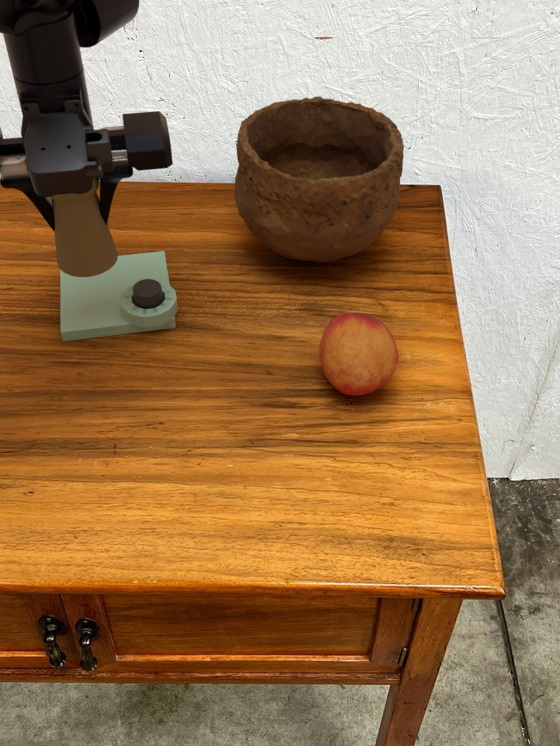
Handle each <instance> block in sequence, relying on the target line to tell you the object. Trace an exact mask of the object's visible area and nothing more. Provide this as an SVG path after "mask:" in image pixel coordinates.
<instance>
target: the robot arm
mask: <svg viewBox="0 0 560 746" xmlns="http://www.w3.org/2000/svg"><path fill="white" fill-rule="evenodd" d="M139 9H140V0H0V34H2V35H3V39H4V43H5V49H6V52H7V56H8V60H9V61H8V62H9V65H10V69H11V73H12V77H13V81H14V82H13V83H14V86H15V90H16V94H17V99H18V102H19V107H20V111H21V115H22V117H21V118H22V120H21V127H20V136H21V137H8V138H7V137H6V138H4V135H3V131H2V128H1V127H0V186H1V187H2V188H4V189H6V190H7V189H8V190H9V189H13V190H16V191H18V192H21V193H22V194H24V195H25V197H27V198H28V200H30V202H31V203H32V204H33V205H34V207H35V208H36V210H37V211H38V212H39V214H40V215H41V217H42V218H43V220H44V221H45V222H46V223H47V225H48V226H49V227H50V229H51V230H52V232H54V231H55V219H54V215H53V209H52V198H51V197H52V196H54V195H60V194H71V193H75V194H84V193H87V192H89V191H90V190H91V189H92V187H93V178H99V186H98V189H99V201H100V214H101V216H102V218H103V220H104V222H105V224H106V226H107V224H108V222H109V218H110V217H109V216H110V213H111V208H112V203H113V200H114V195H115V193H116V189H117V187H118V185H119V183H120V182H121V181H122V180H124V179H129V178H132V177H133V176H134V169H135V170H136V171H138V172H139V171H151V170H162V169H168V168H170V167H171V166H173V165H174V164H173V154H172V153H173V152H172V143H171V137H170V136H171V135H170V132H169V125H168V120H167V117H166V116H165V115H164V114H163V113H162V112H161V111H160V110H156V111H155V110H154V111H143V112H129V113H122V114H121V115H122V124H123V125H115V126H114V125H113V126H103V127H100V128H99V129H95V127H94V121H93V116H92V109H91V104H90V97H89V93H88V87H87V81H86V75H85V69H84V68H85V67H84V64H83V58H82V52H81V48H83V49H84V48H87V49H88V48H92V47H95V46H97V45H98V44H99V43H101V42H102V41H104V40H106V38H108V37H110V36H111V35H112V34H115V32H117V31H119V30H120V29H121V28H123V27H125V26H127V24H129V23H130V22H131V21H133V20H134V19H135V18H136V16H137V14H138V11H139Z"/></svg>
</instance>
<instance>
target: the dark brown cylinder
mask: <svg viewBox="0 0 560 746" xmlns="http://www.w3.org/2000/svg"><path fill="white" fill-rule="evenodd" d="M133 295H134V301H135V304H136V305H137V306H138V307H139V308H142V309H152V308H156V307H157V306H159V305H160V304H161V303H162V301H163V296H162V288H161V284H160V283H159V282H158V281H156V280H153V279H143V280H140V281H138V282H137V283H135V285H134V286H133Z"/></svg>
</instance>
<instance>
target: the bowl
mask: <svg viewBox="0 0 560 746" xmlns="http://www.w3.org/2000/svg"><path fill="white" fill-rule="evenodd" d="M404 149H405V144H404V140H403V136H402V132H400V130H399V128H398V126H397V124H396V123H395V122H394V121H393V120H391V118H390V117H389V116H387V115H385V114H384V113H383V112H381V111H377V110H376V109H375V108H373V107H367V106H365V105H363V104H362V103H359V102H358V103H355V102H353V101H349V102H345V101H340V100H335V99H334V98H333V99H332V98H323V97H322V96H320V95H319V96H314V97H311V98H310V97H309V98H308V97H305V98H304V97H303V98H302V99H298V98H297V99H295V98H293V99H291V100H290V99H286V100H284V101H283V100H282V101H281V100H280V101H274V102H272V103H270V104H269V105H267V106H264V107H262V108H260V109H256V110H255V111H254V112H252V113H251V114H249V115H248V116H247V117H246V118H244V120H241V123H240V127H239V129H238V133H237V141H236V158H237V163H238V167H237V169H236V174H235V177H234V194H233V195H234V200H235V204H236V209H237V213H238V215H239V216H240V217H241V219H242V220H243V221H244V223H245V224H246V226H247V227H248V229H249V231H250V232H251V233H252V234H253V235H254V236H255V238H256V239H258V241H260V242H262V243H263V244H264V245H265V246H267V248H268V249H270V250H271V251H273V252H275V253H276V254H278V255H280V256H282V257H284V258H286V259H290V260H299V261H306V262H307V261H308V262H316V263H326V262H332V261H338V260H342V259H344V258H346V257H350V256H353V255H356V254H357V253H360V252H362V251H363V250H365V249H366V248H368V247H369V246H370V245H371V244H373V243H374V241H376V239H378V238H379V237H380V235H381V234H382V233H383V232H384V230H385V229H386V228H387V227H388V226H389V225H390V223H391V221H392V220H393V218H394V216H395V213H396V211H397V208H398V205H399V200H400V197H401V178H402V177H403V176H402V175H403V169H404V168H403V167H404Z"/></svg>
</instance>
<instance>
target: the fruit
mask: <svg viewBox="0 0 560 746" xmlns="http://www.w3.org/2000/svg"><path fill="white" fill-rule="evenodd" d="M318 358H319V364H320V367H321V370H322V372H323V374H324V376H325V378H326V379H327V381H328V382H329V383H330V384H331V385H332V386H333V387H334V388H335V389H336V390H337V391H339V392H340V393H342V394H344V395H347V396H364V395H367V394H370V393H372V392H374V391H376V390H377V389H379V388H381V387H382V386H383V385H384V384H386V382H388V381H389V380H390V379H391V377H392V376H393V374H394V373H395V370H396V368H397V365H398V361H399V350H398V346H397V343H396V341H395V338H394V335H393V334H392V333H391V331H390V329H389V328H388V327H387V326H386V324H384V323H383V321H381V320H379V319H378V318H375V317H374V316H372V315H367V314H364V313H360V312H343V313H341V314H339V315H336V316H335V317H333V318H332V319H331V320H330V321H329V322H328V324H327V325H326V326H325V328H324V330H323V333H322V336H321V338H320V341H319V345H318Z"/></svg>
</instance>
